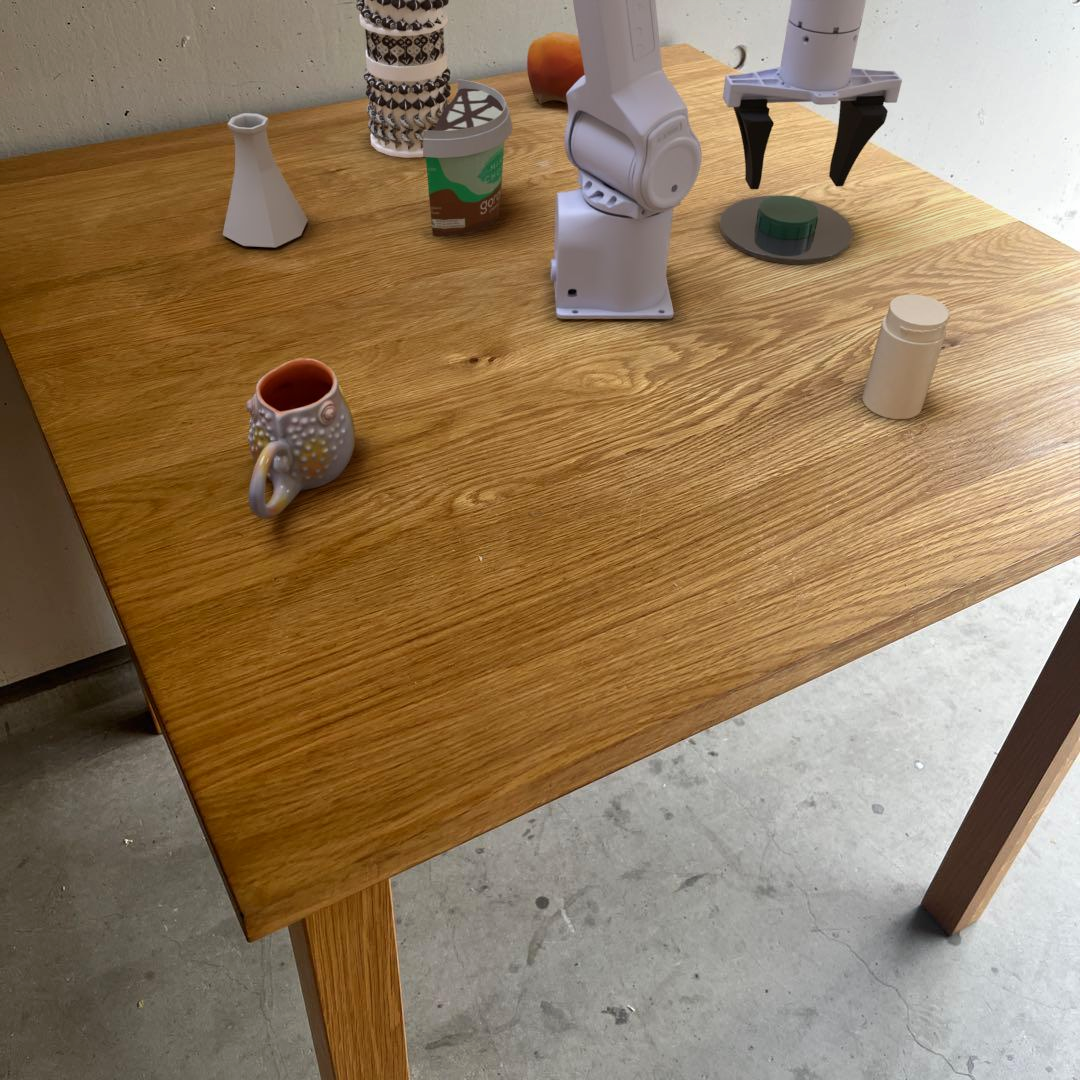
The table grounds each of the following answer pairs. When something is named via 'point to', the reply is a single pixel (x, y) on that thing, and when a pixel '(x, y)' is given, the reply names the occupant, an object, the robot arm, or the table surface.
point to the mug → (297, 433)
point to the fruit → (554, 65)
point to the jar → (905, 356)
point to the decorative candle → (404, 72)
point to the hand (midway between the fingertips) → (794, 182)
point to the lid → (787, 217)
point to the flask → (259, 190)
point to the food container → (467, 160)
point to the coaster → (818, 247)
